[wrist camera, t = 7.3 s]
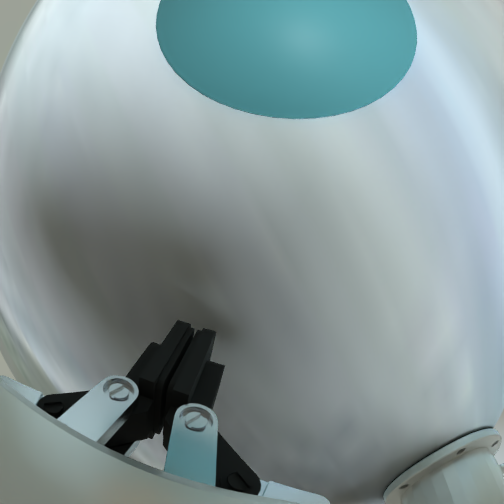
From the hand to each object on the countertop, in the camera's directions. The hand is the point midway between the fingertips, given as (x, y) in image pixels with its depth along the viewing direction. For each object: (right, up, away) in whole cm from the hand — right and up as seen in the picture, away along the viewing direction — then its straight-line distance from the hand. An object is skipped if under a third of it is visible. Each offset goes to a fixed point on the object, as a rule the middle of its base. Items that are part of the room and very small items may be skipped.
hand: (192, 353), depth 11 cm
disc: (+4, +15, -3) cm, 16 cm away
